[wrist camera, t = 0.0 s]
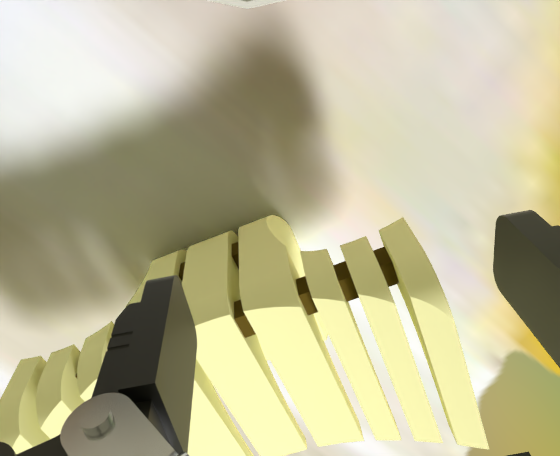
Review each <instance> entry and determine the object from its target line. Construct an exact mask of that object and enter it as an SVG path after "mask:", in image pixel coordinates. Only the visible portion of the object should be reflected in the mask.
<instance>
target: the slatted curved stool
mask: <svg viewBox="0 0 560 456" xmlns="http://www.w3.org/2000/svg"><path fill="white" fill-rule="evenodd" d="M379 233H380V236H381V239H382V242H383V245H384V247H382V248H380V249H377V250H374V251H373V250H372V248H371V246H370V244H369V241H368V239H367V237H366V236H365V237H362V238H360V239H357V240H355V241H352V242H349V243H346V244H343V245H340V247H341V250H342V252H343V255H344V258H345V261H344V262H342V263H339V264H336V265H333V263H332V261H331V258H330V256H329V253H328V251H327V249H323V250H317V251H301V250H300V248H299V246H298V243H297V241H296V239H295V237H294V234H293V232H292V230H291V228H290V226H289V225H288V224H287V223H286V221H285V220H283V219H282V218H280V217H278V216H275V215H270V216H267V217H264V218H262V219H259V220H257V221H254V222H251V223H249V224H246V225H244V226H241V227H239V230H238V236H237V235H236V234H235V233H234V232H233V231H228V232H225V233H223V234H220V235H218V236H215V237H212V238H210V239H207V240H205V241H202V242H199V243H197V244H194V245H192V246H189V248H188V250H187V251H186V250H183V249H181V250H179V251H176V252H173V253H171V254H168V255H165V256H163V257H160V258H158V259H155V260H152V262H151V264H150V267H149V270H148V272H147V274H146V276H145V278H144V280H143V282H142V283H141V285H140V287H139V288H138V290H137V291H136V293H135V294H134V296H133V297H132V299H131V300H130V302H129V303H128V304H132V303H137V302H141V298H142V294H143V291H144V287H145V283H146V281H147V280H152V279H157V278H162V277H168V276H173V275H177V276H178V277H179V279H180V281H181V284H182V287H183V290H184V293H185V296H186V299H187V302H188V305H189V308H190V311H191V315H192V318H193V321H194V324H195V329H196V335H197V353H196V364H195V375H194V386H193V398H192V409H191V420H190V431H189V442H188V453H187V454H188V455H189V456H254V455H253V454H252V452H251V451H250V449H249V447H248V446H247V444H246V443H245V441H244V440H243V438H242V436H241V435H240V433H239V432H238V430H237V428H236V427H235V425H234V423H233V422H232V420H231V418H230V417H229V415H228V413H227V411H226V410H225V408H224V406H223V404H222V402H221V401H220V399H219V397H218V395H217V393H216V391H215V389H214V387H215V388H216V390H217V391H218V393H219V394H220V396H221V397H222V399H223V400H224V402H225V403H226V405H227V406H228V408H229V410H230V411H231V413H232V414H233V416H234V417H235V419H236V420H237V422H238V423H239V425H240V426H241V428H242V429H243V431H244V432H245V434H246V435H247V437H248V438H249V440H250V441H251V443H252V444H253V446H254V447H255V449H256V451H257V452H258V454H259V455H260V456H285V455H288V454H292V453H295V452H299V451H302V450H306V449H307V444H306V438H305V436H304V435H303V433H302V431H301V429H300V427H299V426H298V424H297V422H296V420H295V418H294V416H293V415H292V413H291V411H290V409H289V407H288V405H287V403H286V401H285V399H284V397H283V395H282V393H281V391H280V389H279V387H278V385H277V383H276V381H275V379H274V377H273V375H272V373H271V370H270V368H269V366H268V364H267V360H271V362H272V364H273V366H274V368H275V370H276V371H277V373H278V375H279V377H280V379H281V380H282V382H283V384H284V386H285V388H286V389H287V391H288V393H289V395H290V397H291V398H292V400H293V402H294V404H295V406H296V408H297V409H298V411H299V413H300V415H301V417H302V418H303V420H304V422H305V424H306V426H307V427H308V429H309V431H310V433H311V435H312V436H313V438H314V440H315V442H316V444H317V446H318V447H319V446H325V445H331V444H337V443H346V442H356V441H364V439H363V435H362V431H361V427H360V424H359V420H358V418H357V416H356V414H355V412H354V410H353V407H352V405H351V403H350V401H349V399H348V396H347V394H346V392H345V390H344V387H343V385H342V383H341V381H340V378H339V376H338V374H337V372H336V369H335V367H334V365H333V362H332V360H331V358H330V355H329V353H328V350H327V348H326V346H325V343H324V340H327V336H328V335H329V337H330V339H331V341H332V343H333V346H334V348H335V350H336V352H337V355H338V357H339V359H340V361H341V363H342V366H343V368H344V370H345V372H346V374H347V377H348V379H349V381H350V383H351V386H352V388H353V390H354V392H355V394H356V397H357V399H358V401H359V403H360V405H361V408H362V410H363V412H364V414H365V417H366V419H367V421H368V423H369V425H370V428H371V430H372V432H373V434H374V436H375V439H376V440H401V437H400V434H399V431H398V428H397V425H396V422H395V420H394V417H393V415H392V412H391V410H390V407H389V405H388V402H387V400H386V397H385V395H384V392H383V390H382V387H381V385H380V383H379V380H378V378H377V375H376V373H375V370H374V368H373V365H372V362H371V360H370V357H369V355H368V352H367V350H366V347H365V345H364V342H363V340H362V337H361V334H360V332H359V329H358V327H357V324H356V321H355V319H354V316H353V313H352V311H351V308H350V305H349V303H348V301H350V300H353V299H356V298H360V301H361V304H362V306H363V309H364V311H365V314H366V316H367V319H368V322H369V324H370V327H371V329H372V332H373V334H374V337H375V340H376V342H377V345H378V347H379V350H380V352H381V355H382V358H383V360H384V363H385V365H386V368H387V370H388V373H389V376H390V378H391V381H392V383H393V386H394V388H395V391H396V394H397V396H398V399H399V401H400V404H401V406H402V409H403V411H404V414H405V417H406V419H407V422H408V424H409V427H410V429H411V432H412V435H413V437H414V440H415V441H424V442H436V443H443V442H442V439H441V436H440V433H439V430H438V427H437V424H436V422H435V419H434V416H433V413H432V410H431V407H430V404H429V401H428V398H427V395H426V393H425V390H424V387H423V384H422V381H421V378H420V375H419V372H418V369H417V366H416V364H415V361H414V358H413V355H412V352H411V349H410V346H409V343H408V340H407V337H406V334H405V332H404V329H403V326H402V323H401V320H400V317H399V314H398V311H397V308H396V305H395V303H394V300H393V298H392V295H391V292H390V290H389V286H392V285H395V284H397V285H398V287H399V289H400V292H401V294H402V296H403V299H404V301H405V303H406V306H407V308H408V311H409V313H410V316H411V318H412V321H413V324H414V326H415V329H416V332H417V334H418V337H419V340H420V342H421V345H422V348H423V351H424V354H425V356H426V359H427V362H428V365H429V368H430V371H431V374H432V377H433V379H434V382H435V385H436V388H437V391H438V394H439V397H440V400H441V403H442V406H443V409H444V412H445V415H446V418H447V421H448V424H449V427H450V429H451V431H452V433H453V435H454V438H455V440H456V442H457V444H458V445H462V446H469V447H476V448H482V449H489V447H488V443H487V440H486V436H485V432H484V428H483V425H482V421H481V417H480V414H479V410H478V406H477V403H476V399H475V395H474V392H473V388H472V384H471V381H470V377H469V373H468V370H467V366H466V362H465V358H464V355H463V351H462V347H461V344H460V340H459V336H458V333H457V329H456V326H455V322H454V319H453V316H452V313H451V310H450V307H449V305H448V302H447V299H446V297H445V294H444V292H443V289H442V287H441V285H440V282H439V280H438V278H437V276H436V273H435V271H434V269H433V267H432V265H431V263H430V261H429V259H428V257H427V255H426V253H425V252H424V250H423V248H422V246H421V245H420V243H419V242H418V240H417V239H416V237H415V235H414V234H413V232H412V231H411V229H410V228H409V226H408V224H407V223H406V221H405V220H404V218H401V219H399V220H397V221H396V222H394V223H392V224H390V225H388V226H386V227H384V228H382V229H380V230H379ZM128 304H127V306H128ZM127 306H126V307H127ZM113 328H114V324H113V322H112V321H111V322H110V323H109V324H107V325H106V326H105V327H103V328H102V329H101V330H99V331H98V332H96V333H94V334H93V335H91V336H89V337H87V338H86V340H85V342H84V345H83V348H82V350H81V352H80V351H79V350H78V349H77V347H76V346H75V345H74V344H73V345H71V346H69V347H66V348H64V349H61V350H58V351H55V352H52V353H51V355H50V357H49V359H48V361H47V362H46V361H45V360H44V359H43V358H42V357H41V356H38V357H33V358H28V359H22V360H20V362H19V364H18V366H17V368H16V370H15V372H14V374H13V376H12V378H11V380H10V382H9V384H8V385H7V387H6V389H5V391H4V393H3V395H2V397H1V399H0V442H4V443H6V444H9V445H10V446H11V447H12V448H13V450H14V451H15V453H16V454H19V453H21V452H23V451H25V450H28V449H30V448H32V447H34V446H36V445H39V444H41V443H43V442H45V441H48V440H50V439H52V438H54V437H56V436H58V435H59V434H61V429H62V426H63V424H64V422H65V421H66V419H67V418H68V416H69V415H70V414H71V413H72V412H73V411H74V410H75V409H76V408H77V407H78V406H80V405H81V404H82V403H84V402H85V401H87V400H89V399H91V397H92V394H93V391H94V388H95V385H96V382H97V378H98V375H99V372H100V369H101V366H102V363H103V359H104V356H105V353H106V351H107V347H108V344H109V340H110V338H112V336H111V334H112V331H113ZM212 384H213V385H214V387H213V385H212Z"/></svg>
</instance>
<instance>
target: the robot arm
mask: <svg viewBox="0 0 560 456" xmlns="http://www.w3.org/2000/svg"><path fill="white" fill-rule="evenodd" d="M493 272H494V278H495V281H496V284H497V286H498V289H499V290H500V292H501V293H502V295H503V296H504V297H505V298H506V300H507V301H508V302H509V304H510V305H511V306H512V307H513V309H514V310H515V311H516V313H517V314H518V315H519V316H520V318H521V319H522V320H523V322H524V323H525V324H526V325H527V327H528V328H529V329H530V330H531V332H532V333H533V334H534V336H535V337H536V338H537V339H538V341H539V342H540V343H541V345H542V346H543V347H544V348H545V350H546V351H547V352H548V354H549V355H550V356H551V357H552V359H553V360H554V361H555V363H556V364H557V365H558V366H559V368H560V226H551V225H549V224H548V223H547V222H546V221H545V220H544V219H543V218H541V217H540V216H539V215H538V214H537V213H536V212H534V211H532V210H528V211H523V212H517V213H512V214H506V215H501V216H499V217H498V218H497V221H496V228H495V245H494V262H493ZM111 336H112V338H110V340H109V344H108V347H107V351H106V353H105V356H104V359H103V363H102V366H101V369H100V372H99V375H98V378H97V382H96V385H95V388H94V391H93V394H92V397H91V399H89V400H87V401H85V402H84V403H82V404H81V405H80V406H78V407H77V408H76V409H75V410H74V411H73V412H72V413H71V414H70V415H69V416H68V418H67V419H66V421H65V422H64V424H63V426H62V429H61V434H59V435H58V436H56V437H54V438H52V439H50V440H48V441H45V442H43V443H41V444H39V445H36V446H34V447H32V448H30V449H28V450H25V451H23V452H21V453H19V454H16V453H15V451H14V450H13V448H12V447H11V446H10V445H9V444H6V443H4V442H0V456H189V455H188V454H187V453H188V442H189V431H190V420H191V409H192V398H193V386H194V375H195V364H196V353H197V335H196V329H195V324H194V321H193V318H192V315H191V311H190V308H189V305H188V302H187V299H186V296H185V293H184V290H183V287H182V284H181V281H180V279H179V277H178V276H177V275H173V276H168V277H162V278H157V279H152V280H147V281H146V283H145V287H144V291H143V294H142V298H141V302H137V303H132V304H128V306H127V307H126V308H125V309H124V310H123V312H122V313H121V314H120V315H119V316H118V318H117V319H116V321H115V325H114V328H113V331H112V334H111ZM508 456H531V455H530V453H529V452H525V453H519V454H513V455H508Z"/></svg>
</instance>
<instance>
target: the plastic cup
mask: <svg viewBox="0 0 560 456" xmlns="http://www.w3.org/2000/svg"><path fill="white" fill-rule="evenodd" d="M207 1H211V2H216V3H221V4H225V5H230V6H235V7H240V8H245V9H250V8H254V7H259V6H263V5H268V4H272V3H277V2H281V1H286V0H207Z"/></svg>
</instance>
